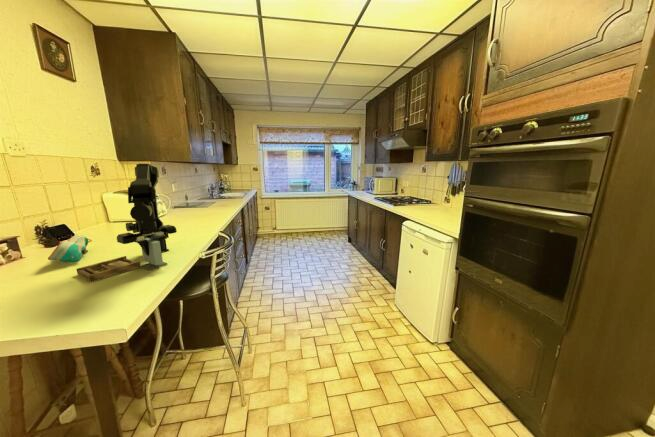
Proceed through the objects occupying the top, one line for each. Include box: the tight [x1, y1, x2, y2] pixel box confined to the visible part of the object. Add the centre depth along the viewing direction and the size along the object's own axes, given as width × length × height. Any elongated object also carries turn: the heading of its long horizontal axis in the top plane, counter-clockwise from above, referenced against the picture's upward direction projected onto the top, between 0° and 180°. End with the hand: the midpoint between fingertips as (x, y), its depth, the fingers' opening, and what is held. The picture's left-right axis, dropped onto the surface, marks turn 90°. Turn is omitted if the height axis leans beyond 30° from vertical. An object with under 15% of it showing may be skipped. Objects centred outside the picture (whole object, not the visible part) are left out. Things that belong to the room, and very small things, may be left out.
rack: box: [76, 255, 141, 283], centre depth 95 cm, size 15×12×2 cm
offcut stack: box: [108, 261, 129, 268], centre depth 98 cm, size 5×8×2 cm, turn 60°
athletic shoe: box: [47, 234, 89, 264], centre depth 111 cm, size 27×9×12 cm
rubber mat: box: [139, 261, 168, 271], centre depth 100 cm, size 7×7×1 cm
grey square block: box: [141, 238, 164, 265], centre depth 99 cm, size 3×9×9 cm, turn 60°
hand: (151, 254), depth 99 cm, fingers closed on grey square block, 3 cm apart
